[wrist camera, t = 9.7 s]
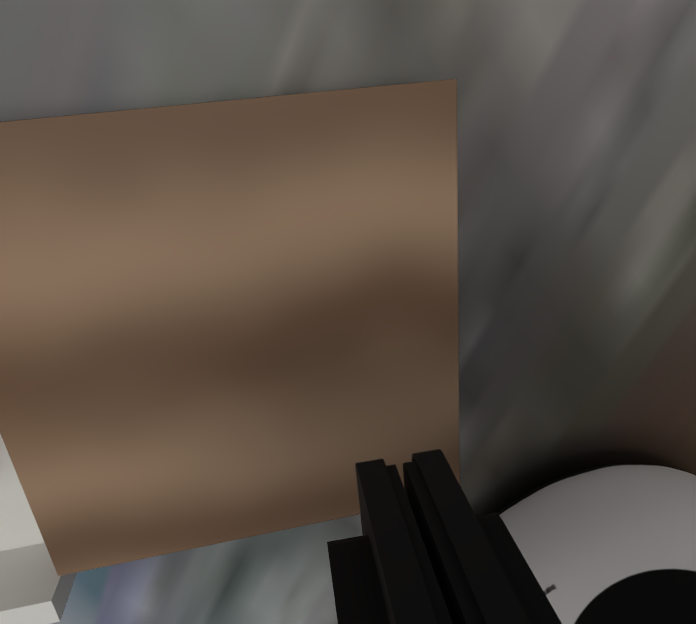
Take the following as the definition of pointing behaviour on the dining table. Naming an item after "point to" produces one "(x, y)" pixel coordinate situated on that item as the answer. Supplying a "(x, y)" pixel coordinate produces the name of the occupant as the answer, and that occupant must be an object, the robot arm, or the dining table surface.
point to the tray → (25, 559)
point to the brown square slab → (225, 312)
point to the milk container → (612, 544)
